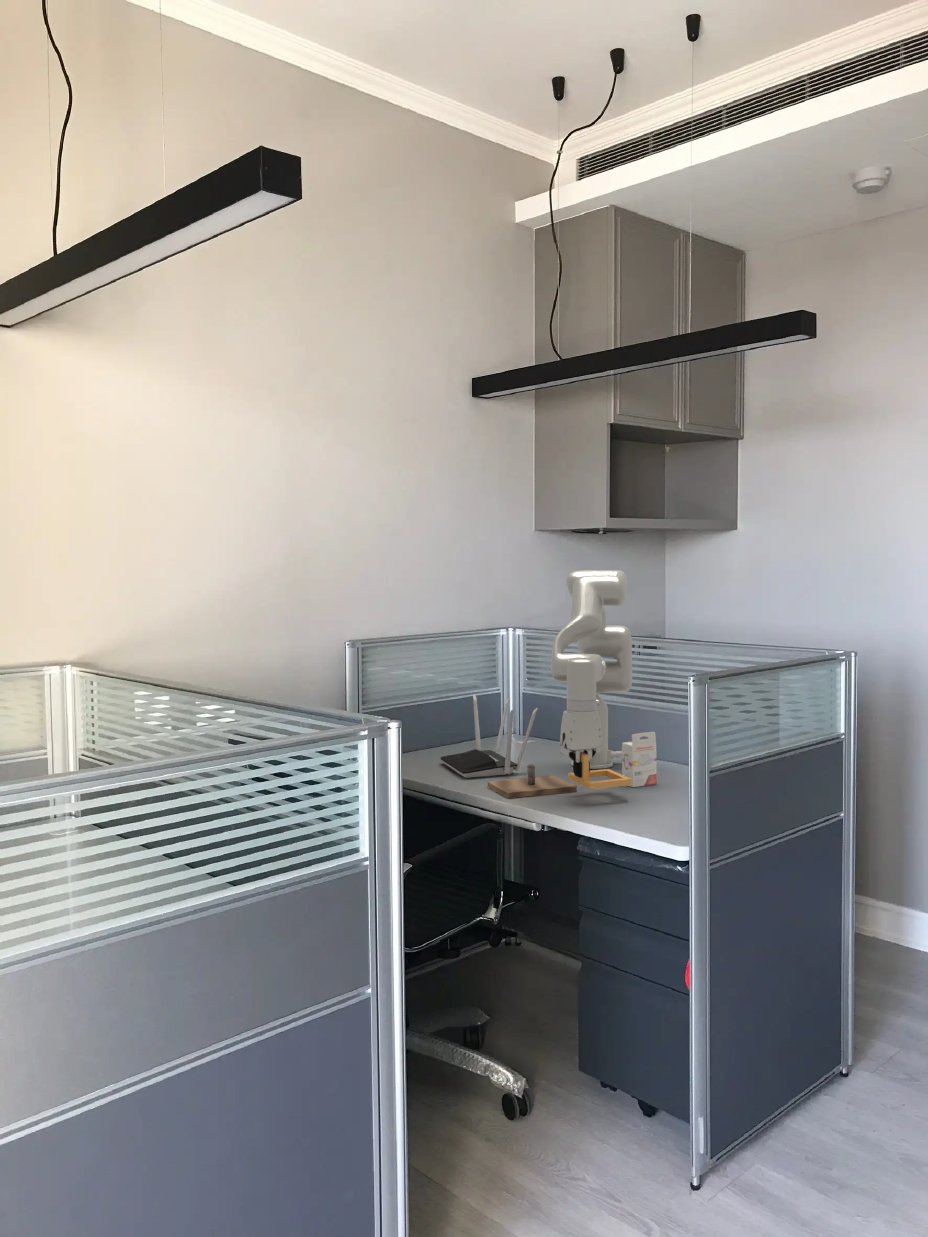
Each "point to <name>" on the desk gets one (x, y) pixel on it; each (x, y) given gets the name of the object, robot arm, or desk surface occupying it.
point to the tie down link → (584, 780)
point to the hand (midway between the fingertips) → (581, 775)
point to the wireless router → (488, 751)
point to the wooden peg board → (531, 785)
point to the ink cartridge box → (640, 759)
